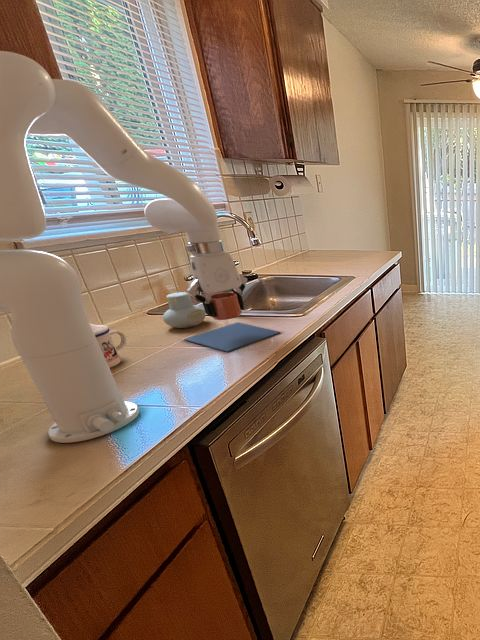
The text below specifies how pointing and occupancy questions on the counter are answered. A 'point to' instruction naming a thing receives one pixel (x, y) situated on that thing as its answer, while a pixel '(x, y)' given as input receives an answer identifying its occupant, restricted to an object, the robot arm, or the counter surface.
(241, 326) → the mat
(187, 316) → the air freshener
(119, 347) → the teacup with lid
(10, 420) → the counter surface
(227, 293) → the terracotta flower pot
